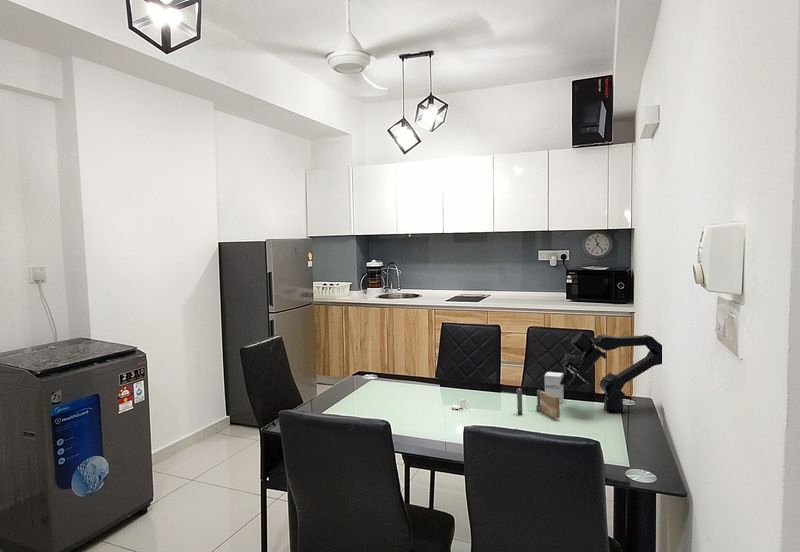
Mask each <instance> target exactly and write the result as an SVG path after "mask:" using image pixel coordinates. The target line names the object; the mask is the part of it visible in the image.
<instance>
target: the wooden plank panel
mask: <svg viewBox="0 0 800 552" xmlns="http://www.w3.org/2000/svg"><path fill="white" fill-rule="evenodd" d="M536 402H537V403H536V404H537V405H538V406H540V410H541V411H542V413H543V412H544V413H545V414H546V415H549V416H550V417H552V418H554V419H555V420H556V419H560V417H561V415H560V404H559V397H557V396H552V395H550V394H548V393H546V392H545V390H544V391H543V390H542V389H537V390H536ZM537 405H536V406H537Z"/></svg>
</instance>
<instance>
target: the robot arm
mask: <svg viewBox="0 0 800 552" xmlns="http://www.w3.org/2000/svg"><path fill="white" fill-rule="evenodd" d="M570 344H572V346H573V347H575V349H577V351H579V352H580V353H583V352H584V353H583V354H582V355H576V354H572V355H571V354H570V353H569V354H568V353H567V352H566V353H564V356H563V358H562V360H563V361H564V362H563V363H562V366H563V369H564V372H563V378H562V380H561V382H560V384H561V385H563V386H564V385H566V383H568V384H567V386H566V387H565V389H566V390H567V391H568V390H571V389H574V388H576V387H579V386H581V385H585V384H589V385H590V384H591V383H592V382H593V377H592V376H591V375H590V374H589V373H588V372H589V370H590V369H595V366H594V365H595V364H596V363H597V362H598V361H599V359H600V358H602V359H604V360H606V359H607V352H605V351H611V350H612V351H613V350H616V349H618V348H622V347H624V348H625V347H640V346H641V347H643V346H645V347H646V348H647V349H648V350H649V351H648V353H647V355H646V356H645V357H643V358H641V359H640V360H638V361H637V362H635V363H634V364H632V365H630V366H629V367H627V368H625V369H624V370H622V371H621V372H619V373H617V374H613V373H612V372H609V373H608V374H607V375H605V376H602V379H600V380H599V388H600V389H601V391H603V394H605V395H604V399H603V409H604V410H605V411H606V412H608V413H609V414H622V413H623V414H624V413H625V410H624V402H623V401H624V398H625V397H626V394H625V393H624V392H623V391H622V390H623V388H624V387H625V385H626V384H627V383H628V382H630V381H631V380H634V379H635V378H636V377H638V376H640V375H641V374H643V373H645V372H646V371H648V370H649V369H651V368H653V367H654V366H659V365H663V364H662V345H663V344H661V343H660V342H658V340H656V339H655V338H654V337H653V336H650V335H649V334H648V335H647V334H644V335H630V336H629V335H628V336H614V335H607V334H599V335H597V336H596V337H592V338H590V337H588V336H587V334H586V333H584V332H583V331H581V332H580V333H578V334H576V335H574V336H573V337H572V338H571V340H570ZM594 346H595V347H594ZM601 350H603V351H601Z"/></svg>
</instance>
